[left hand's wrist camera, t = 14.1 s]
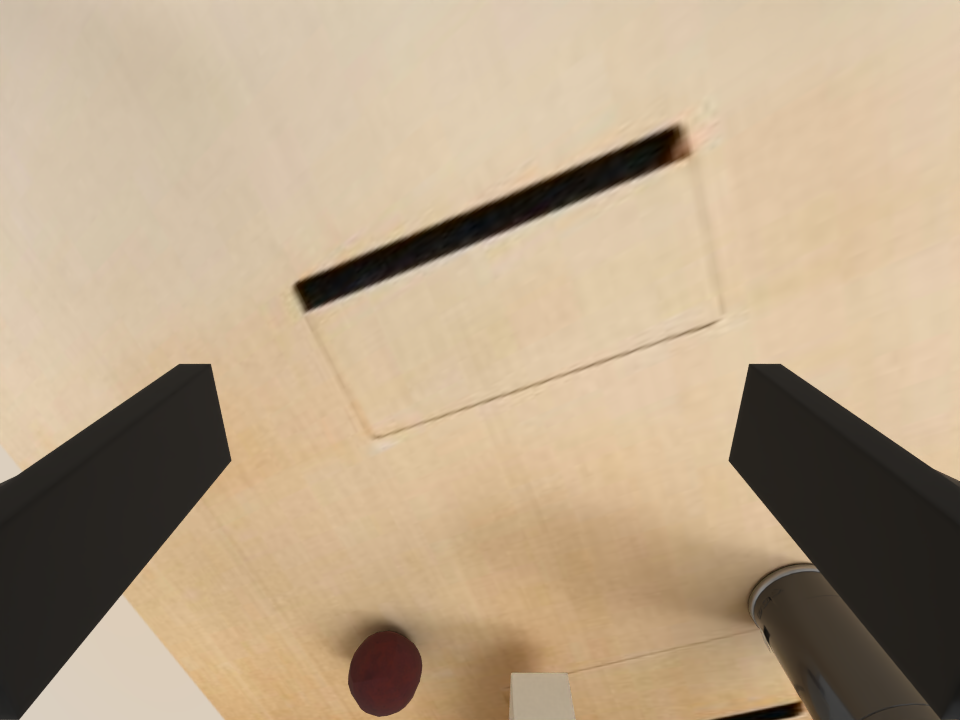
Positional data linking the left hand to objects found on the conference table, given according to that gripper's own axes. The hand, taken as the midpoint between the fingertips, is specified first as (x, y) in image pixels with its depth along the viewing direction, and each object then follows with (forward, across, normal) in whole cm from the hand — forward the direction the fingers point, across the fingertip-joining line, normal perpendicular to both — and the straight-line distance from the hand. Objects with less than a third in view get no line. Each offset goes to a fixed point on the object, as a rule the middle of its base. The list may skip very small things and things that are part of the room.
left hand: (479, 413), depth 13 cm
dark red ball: (+29, -10, -43) cm, 53 cm away
